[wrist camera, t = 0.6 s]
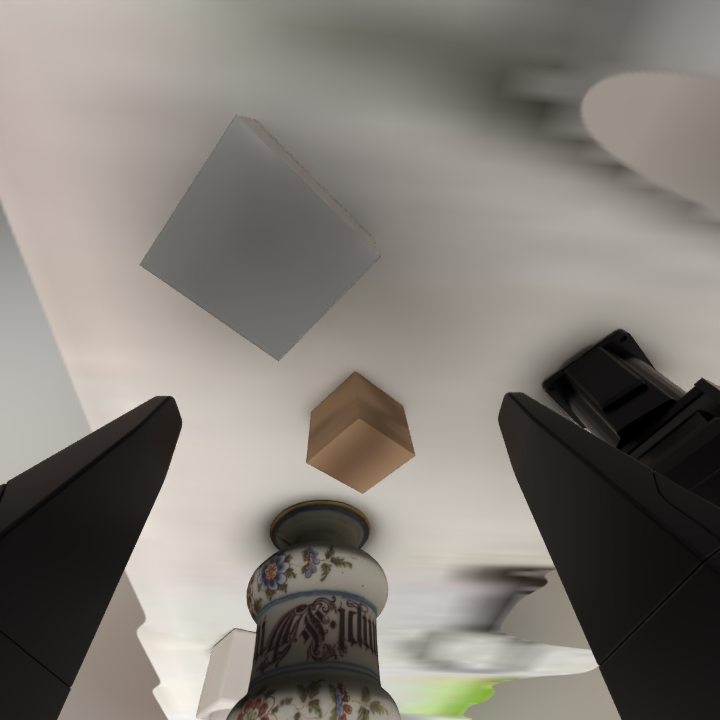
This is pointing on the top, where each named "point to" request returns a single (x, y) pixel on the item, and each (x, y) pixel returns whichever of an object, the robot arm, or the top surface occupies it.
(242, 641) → the medicine bottle
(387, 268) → the top surface
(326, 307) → the stoneware block
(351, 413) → the walnut cube
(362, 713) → the apothecary jar
